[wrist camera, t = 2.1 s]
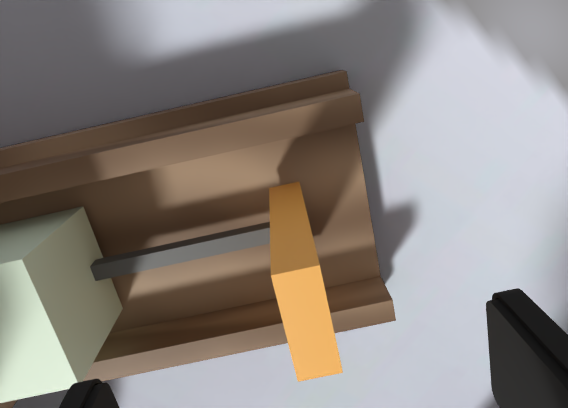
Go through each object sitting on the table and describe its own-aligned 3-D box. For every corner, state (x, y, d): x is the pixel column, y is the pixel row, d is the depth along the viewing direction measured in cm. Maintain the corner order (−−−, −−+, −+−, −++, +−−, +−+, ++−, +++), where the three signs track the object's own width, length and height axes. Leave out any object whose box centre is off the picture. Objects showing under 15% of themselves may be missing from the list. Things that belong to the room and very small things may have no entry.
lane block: (317, 267, 24) (348, 396, 15) (16, 331, 25) (-126, 492, 16) (294, 159, 22) (313, 234, 13) (-32, 231, 23) (-226, 351, 14)
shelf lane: (379, 293, 27) (559, 686, 10) (23, 368, 28) (-338, 844, 11) (341, 70, 23) (544, 129, 6) (-77, 165, 23) (-898, 446, 7)
